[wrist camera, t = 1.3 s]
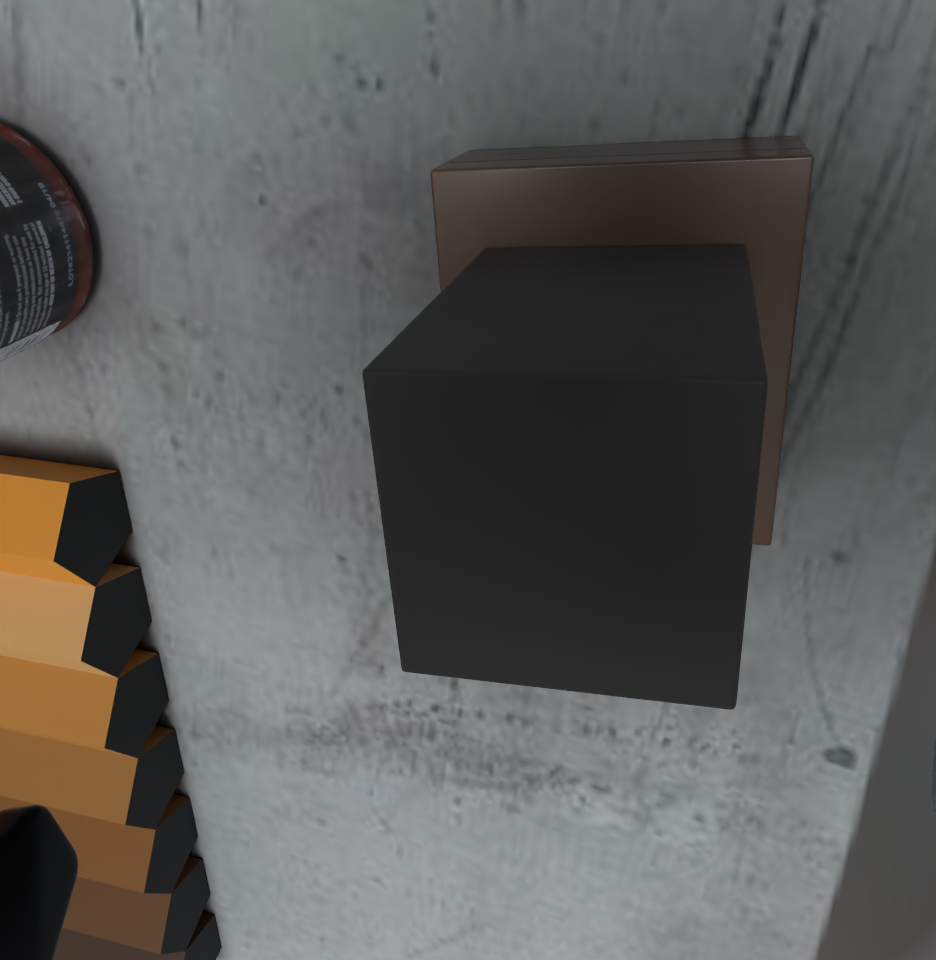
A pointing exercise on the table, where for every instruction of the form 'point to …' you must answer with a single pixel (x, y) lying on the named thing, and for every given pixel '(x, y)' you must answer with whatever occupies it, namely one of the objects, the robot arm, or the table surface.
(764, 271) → the brown wooden tile
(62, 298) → the supplement bottle
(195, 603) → the table surface
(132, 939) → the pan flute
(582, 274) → the black rectangular block
